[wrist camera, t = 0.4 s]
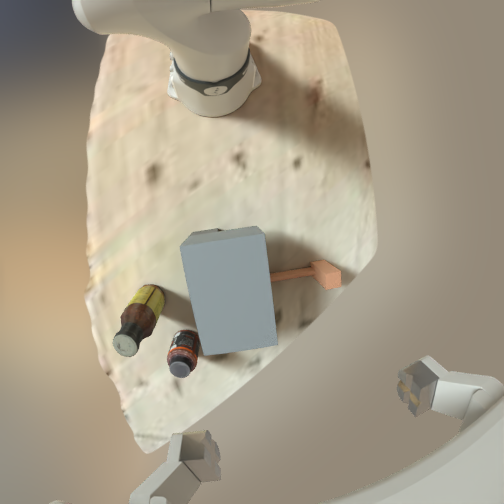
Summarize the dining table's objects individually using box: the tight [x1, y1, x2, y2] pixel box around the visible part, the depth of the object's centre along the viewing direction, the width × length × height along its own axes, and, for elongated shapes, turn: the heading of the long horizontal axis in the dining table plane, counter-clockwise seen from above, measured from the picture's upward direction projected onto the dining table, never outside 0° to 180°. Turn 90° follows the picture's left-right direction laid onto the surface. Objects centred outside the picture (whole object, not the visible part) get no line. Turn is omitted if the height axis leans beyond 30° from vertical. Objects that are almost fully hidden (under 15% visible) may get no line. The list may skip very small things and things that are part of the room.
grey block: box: [180, 226, 278, 356], centre depth 47 cm, size 18×12×15 cm, turn 8°
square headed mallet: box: [270, 260, 341, 290], centre depth 51 cm, size 3×12×9 cm, turn 98°
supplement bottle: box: [167, 330, 200, 378], centre depth 51 cm, size 6×6×11 cm
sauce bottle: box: [113, 284, 165, 357], centre depth 44 cm, size 7×6×20 cm
